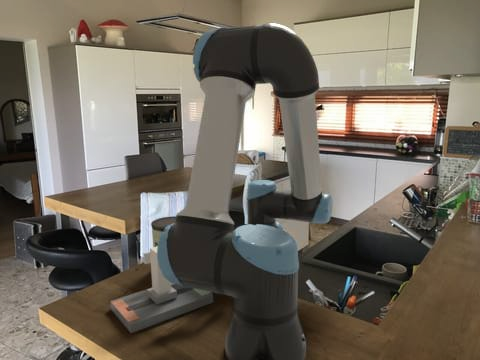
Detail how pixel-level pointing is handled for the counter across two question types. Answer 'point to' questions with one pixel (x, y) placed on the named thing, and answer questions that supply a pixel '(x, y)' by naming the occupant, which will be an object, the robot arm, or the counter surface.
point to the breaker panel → (157, 307)
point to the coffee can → (160, 227)
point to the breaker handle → (159, 282)
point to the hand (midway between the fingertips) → (156, 268)
